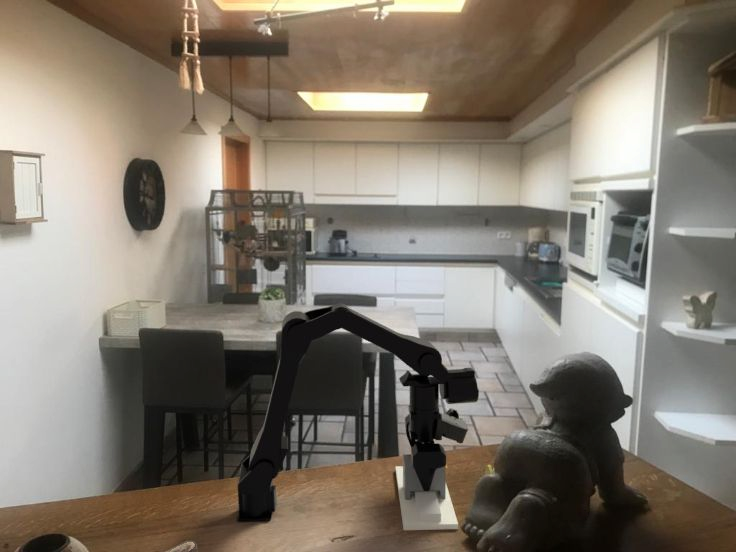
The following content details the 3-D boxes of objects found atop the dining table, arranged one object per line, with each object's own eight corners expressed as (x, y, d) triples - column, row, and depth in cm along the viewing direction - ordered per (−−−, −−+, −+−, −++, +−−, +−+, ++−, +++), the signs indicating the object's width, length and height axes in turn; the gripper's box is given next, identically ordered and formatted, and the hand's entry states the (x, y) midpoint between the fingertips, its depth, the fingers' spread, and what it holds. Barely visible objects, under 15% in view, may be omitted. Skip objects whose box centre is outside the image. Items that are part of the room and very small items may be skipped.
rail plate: (403, 530, 103) (403, 517, 102) (395, 470, 125) (395, 460, 124) (458, 529, 103) (458, 516, 103) (440, 469, 125) (440, 459, 124)
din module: (405, 499, 111) (404, 466, 110) (403, 486, 116) (402, 454, 115) (448, 498, 111) (448, 465, 110) (444, 485, 116) (444, 453, 115)
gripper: (474, 423, 102) (473, 503, 104) (456, 387, 120) (455, 456, 123) (413, 424, 101) (412, 504, 104) (404, 388, 120) (404, 457, 122)
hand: (423, 478), depth 113 cm, fingers open, 9 cm apart
